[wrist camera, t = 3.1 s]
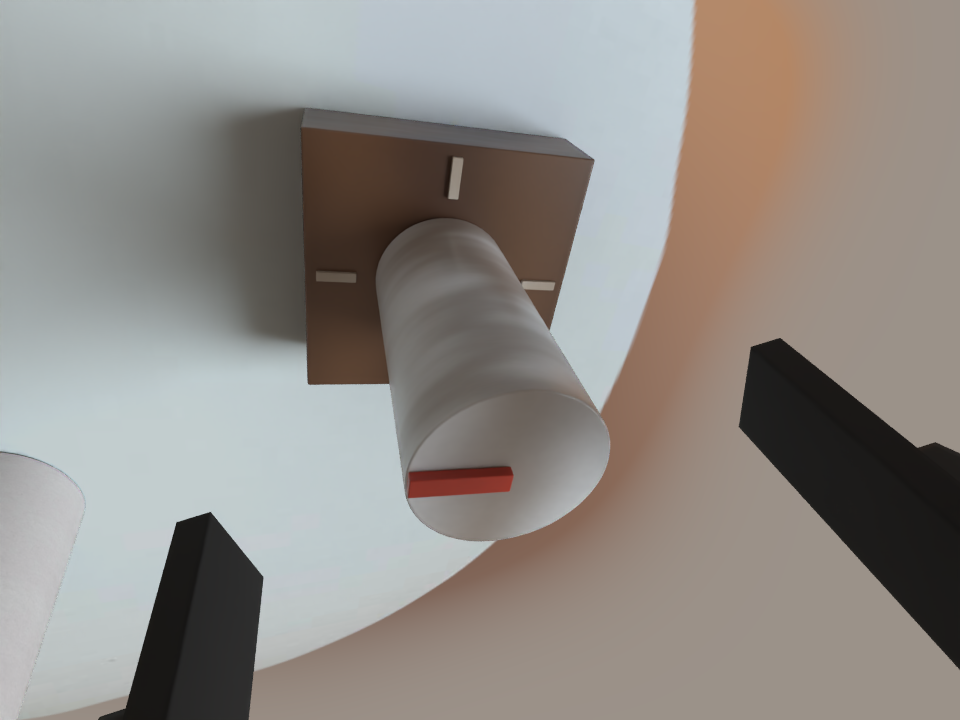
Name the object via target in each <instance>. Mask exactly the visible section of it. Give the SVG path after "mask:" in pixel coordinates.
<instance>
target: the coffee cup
mask: <svg viewBox="0 0 960 720" xmlns="http://www.w3.org/2000/svg"><path fill="white" fill-rule="evenodd" d="M84 512H85V500H84V497H83V494H82V492H81V490H80V489H79V487H78V486H77V485H76V484H75V483H74V482H73V481H72V480H71V479H70V478H69V477H68V476H66V475H65V474H64V473H62V472H61V471H59V470H57V469H56V468H54V467H52V466H50V465H48V464H46V463H43V462H41V461H38V460H35V459H32V458H29V457H25V456H21V455H16V454H10V453H2V452H0V720H17V719H18V716H19V713H20V710H21V707H22V704H23V701H24V698H25V694H26V691H27V688H28V685H29V682H30V679H31V676H32V673H33V670H34V667H35V663H36V660H37V657H38V654H39V651H40V648H41V645H42V642H43V639H44V636H45V633H46V630H47V627H48V623H49V620H50V617H51V614H52V611H53V608H54V605H55V602H56V599H57V596H58V593H59V590H60V587H61V583H62V580H63V577H64V574H65V571H66V568H67V565H68V562H69V559H70V556H71V553H72V550H73V547H74V544H75V541H76V538H77V535H78V531H79V528H80V525H81V522H82V519H83V516H84Z"/></svg>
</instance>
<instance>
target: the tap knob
mask: <svg viewBox="0 0 960 720" xmlns="http://www.w3.org/2000/svg"><path fill="white" fill-rule="evenodd" d="M376 292H377V299H378V306H379V313H380V320H381V327H382V334H383V341H384V348H385V355H386V362H387V369H388V376H389V383H390V390H391V397H392V404H393V412H394V419H395V426H396V433H397V440H398V447H399V454H400V461H401V468H402V475H403V482H404V489H405V495H406V499H407V501H408V504H409V506H410V508H411V510H412V511H413V513H414V514H415V516H416V517H417V518H418V519H419V520H420V521H421V522H422V523H423V524H425V525H426V526H427V527H429V528H430V529H432V530H434V531H436V532H438V533H440V534H443V535H445V536H448V537H452V538H456V539H461V540H468V541H494V540H502V539H508V538H512V537H517V536H520V535H524V534H527V533H530V532H533V531H535V530H538V529H540V528H542V527H545V526H547V525H549V524H551V523H553V522H554V521H556V520H558V519H560V518H561V517H563V516H564V515H566V514H567V513H569V512H570V511H571V510H573V509H574V508H575V507H576V506H578V505H579V504H580V503H581V502H582V501H583V500H584V499H585V498H586V497H587V496H588V495H589V494H590V493H591V491H592V490H593V489H594V488H595V486H596V485H597V483H598V482H599V480H600V479H601V477H602V475H603V473H604V471H605V469H606V466H607V463H608V459H609V454H610V437H609V433H608V429H607V427H606V424H605V422H604V420H603V419H602V417H601V415H600V414H599V412H598V410H597V409H596V407H595V405H594V404H593V402H592V400H591V399H590V397H589V395H588V394H587V392H586V391H585V389H584V387H583V386H582V384H581V382H580V381H579V379H578V377H577V376H576V374H575V372H574V371H573V369H572V367H571V366H570V364H569V362H568V361H567V359H566V357H565V356H564V354H563V353H562V351H561V349H560V348H559V346H558V344H557V343H556V341H555V339H554V338H553V336H552V334H551V333H550V331H549V329H548V328H547V326H546V324H545V323H544V321H543V319H542V318H541V316H540V315H539V313H538V311H537V310H536V308H535V306H534V305H533V303H532V301H531V300H530V298H529V296H528V295H527V293H526V291H525V290H524V288H523V286H522V285H521V283H520V281H519V280H518V278H517V277H516V275H515V273H514V272H513V270H512V268H511V267H510V265H509V263H508V262H507V260H506V258H505V257H504V255H503V253H502V252H501V250H500V248H499V247H498V245H497V244H496V242H495V241H494V240H493V239H492V238H491V236H490V235H489V234H487V233H486V232H485V231H484V230H483V229H481V228H479V227H478V226H476V225H474V224H472V223H469V222H467V221H463V220H459V219H452V218H438V219H431V220H427V221H423V222H420V223H418V224H415V225H413V226H411V227H410V228H408V229H406V230H405V231H403V232H402V233H400V234H399V235H398V236H397V237H396V238H395V239H394V240H393V241H392V242H391V243H390V244H389V245H388V247H387V248H386V250H385V251H384V253H383V255H382V257H381V259H380V261H379V264H378V268H377V272H376Z"/></svg>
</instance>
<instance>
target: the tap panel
mask: <svg viewBox="0 0 960 720" xmlns="http://www.w3.org/2000/svg"><path fill="white" fill-rule="evenodd" d="M301 158H302V195H303V231H304V268H305V305H306V342H307V378H308V384H309V385H320V384H390V383H389V376H388V369H387V362H386V355H385V348H384V341H383V334H382V327H381V320H380V313H379V306H378V299H377V292H376V272H377V268H378V264H379V261H380V259H381V257H382V255H383V253H384V251H385V250H386V248H387V247H388V245H389V244H390V243H391V242H392V241H393V240H394V239H395V238H396V237H397V236H398V235H399V234H400V233H402V232H403V231H405V230H406V229H408V228H410V227H411V226H413V225H415V224H418V223H420V222H423V221H427V220H431V219H438V218H452V219H459V220H463V221H467V222H469V223H472V224H474V225H476V226H478V227H479V228H481V229H483V230H484V231H485V232H486V233H487V234H489V235H490V236H491V238H492V239H493V240H494V241H495V242H496V244H497V245H498V247H499V248H500V250H501V252H502V253H503V255H504V257H505V258H506V260H507V262H508V263H509V265H510V267H511V268H512V270H513V272H514V273H515V275H516V277H517V278H518V280H519V281H520V283H521V285H522V286H523V288H524V290H525V291H526V293H527V295H528V296H529V298H530V300H531V301H532V303H533V305H534V306H535V308H536V310H537V311H538V313H539V315H540V316H541V318H542V319H543V321H544V323H545V324H546V326H547V328H548V329H549V330H550V327H551V323H552V319H553V315H554V312H555V308H556V304H557V300H558V296H559V293H560V289H561V285H562V281H563V278H564V274H565V270H566V266H567V263H568V259H569V255H570V251H571V247H572V244H573V240H574V236H575V232H576V229H577V225H578V221H579V217H580V213H581V210H582V206H583V202H584V198H585V195H586V191H587V187H588V183H589V180H590V176H591V172H592V168H593V164H594V159H593V158H591V157H590V156H588V155H587V154H586V153H584V152H583V151H582V150H580V149H579V148H577V147H576V146H575V145H573V144H572V143H570V142H569V141H568V140H566V139H561V138H553V137H545V136H536V135H528V134H520V133H512V132H503V131H495V130H487V129H479V128H470V127H462V126H454V125H445V124H437V123H429V122H421V121H412V120H404V119H396V118H388V117H379V116H371V115H363V114H354V113H346V112H338V111H330V110H321V109H313V108H305V109H304V114H303V119H302V124H301Z"/></svg>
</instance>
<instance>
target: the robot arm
mask: <svg viewBox="0 0 960 720" xmlns="http://www.w3.org/2000/svg"><path fill="white" fill-rule="evenodd" d="M739 427H740V429H741V430H742V431H743V432H744V433H745V434H746V435H747V436H748V437H749V438H750V440H751V441H752V442H753V443H754V444H755V445H756V446H757V447H758V448H759V450H761V452H762V453H763V454H764V455H765V456H766V457H767V458H768V459H769V460H770V462H771V463H772V464H773V465H774V466H775V467H776V468H777V469H778V470H779V472H781V474H782V475H783V476H784V477H785V478H786V479H787V480H788V481H789V483H790V484H791V485H792V486H793V487H794V488H795V489H796V490H797V491H798V492H799V494H800V495H801V496H802V497H803V498H804V499H805V500H806V501H807V502H808V503H809V504H810V506H811V507H812V508H813V509H814V510H815V511H816V512H817V513H818V514H819V515H820V517H821V518H822V519H823V520H824V521H825V522H826V523H827V524H828V525H829V526H830V527H831V529H832V530H833V531H834V532H835V533H836V534H837V535H838V536H839V537H840V538H841V540H842V541H843V542H844V543H845V544H846V545H847V546H848V547H849V548H850V550H851V551H852V552H853V553H854V554H855V555H856V556H857V557H858V558H859V559H860V561H861V562H862V563H863V564H864V565H865V566H866V567H867V568H868V569H869V570H870V572H871V573H872V574H873V575H874V576H875V577H876V578H877V579H878V580H879V581H880V582H881V584H882V585H883V586H884V587H885V588H886V589H887V590H888V591H889V592H890V593H891V594H892V596H893V597H894V598H895V599H896V600H897V601H898V602H899V603H900V604H901V605H902V607H903V608H904V609H905V610H906V611H907V612H908V613H909V614H910V615H911V617H912V618H913V619H914V620H915V621H916V622H917V623H918V624H919V625H920V626H921V627H922V629H923V630H924V631H925V632H926V633H927V634H928V635H929V636H930V637H931V639H932V640H933V641H934V642H935V643H936V644H937V645H938V646H939V647H940V648H941V649H942V651H943V652H944V653H945V654H946V655H947V656H948V657H949V658H950V659H951V660H952V662H953V663H954V664H955V665H956V666H957V667H958V668H959V669H960V453H958V452H955V451H953V450H951V449H949V448H947V447H944V446H942V445H940V444H938V443H936V442H935V443H932V444H929V445H926V446H923V447H919V448H917V447H915V446H914V445H913V444H912V443H910V442H909V441H908V440H907V439H905V438H904V437H903V436H902V435H900V434H899V433H898V432H897V431H895V430H894V429H893V428H892V427H890V426H889V425H888V424H887V423H885V422H884V421H883V420H881V419H880V418H879V417H878V416H877V415H875V414H874V413H873V412H872V411H871V410H869V409H868V408H867V407H866V406H864V405H863V404H862V403H860V402H859V401H858V400H857V399H855V398H854V397H853V396H852V395H850V394H849V393H848V392H847V391H846V390H844V389H843V388H842V387H841V386H839V385H838V384H837V383H836V382H834V381H833V380H832V379H831V378H829V377H828V376H827V375H826V374H824V373H823V372H822V371H821V370H819V369H818V368H817V367H816V366H814V365H813V364H812V363H811V362H809V361H808V360H807V359H806V358H804V357H803V356H802V355H801V354H800V353H798V352H797V351H796V350H794V349H793V348H792V347H791V346H790V345H788V344H787V343H786V342H784V341H783V340H782V339H781V338H779V339H775V340H772V341H769V342H766V343H762V344H759V345H756V346H753V347H751V350H750V358H749V364H748V370H747V377H746V383H745V390H744V396H743V403H742V410H741V417H740V423H739ZM262 586H263V576H262V575H261V574H260V572H259V571H258V570H257V569H256V567H255V566H254V565H253V564H252V562H251V561H250V560H249V559H248V557H247V556H246V555H245V554H244V553H243V551H242V550H241V549H240V548H239V546H238V545H237V544H236V543H235V541H234V540H233V539H232V538H231V536H230V535H229V534H228V533H227V532H226V530H225V529H224V528H223V527H222V525H221V524H220V523H219V522H218V520H217V519H216V518H215V517H214V516H213V514H212V513H211V512H209V513H206V514H202V515H199V516H196V517H193V518H189V519H186V520H183V521H180V522H177V523H176V526H175V530H174V534H173V537H172V541H171V545H170V548H169V552H168V556H167V559H166V563H165V567H164V570H163V574H162V578H161V581H160V585H159V588H158V592H157V596H156V599H155V603H154V607H153V610H152V614H151V618H150V621H149V625H148V629H147V632H146V636H145V640H144V643H143V647H142V651H141V654H140V658H139V662H138V665H137V669H136V672H135V676H134V680H133V683H132V687H131V691H130V694H129V698H128V702H127V705H126V709H123V710H120V711H117V712H114V713H111V714H107V715H104V716H101V717H100V718H99V719H98V720H248V719H249V710H250V700H251V691H252V681H253V672H254V662H255V653H256V643H257V634H258V624H259V615H260V605H261V596H262Z"/></svg>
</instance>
